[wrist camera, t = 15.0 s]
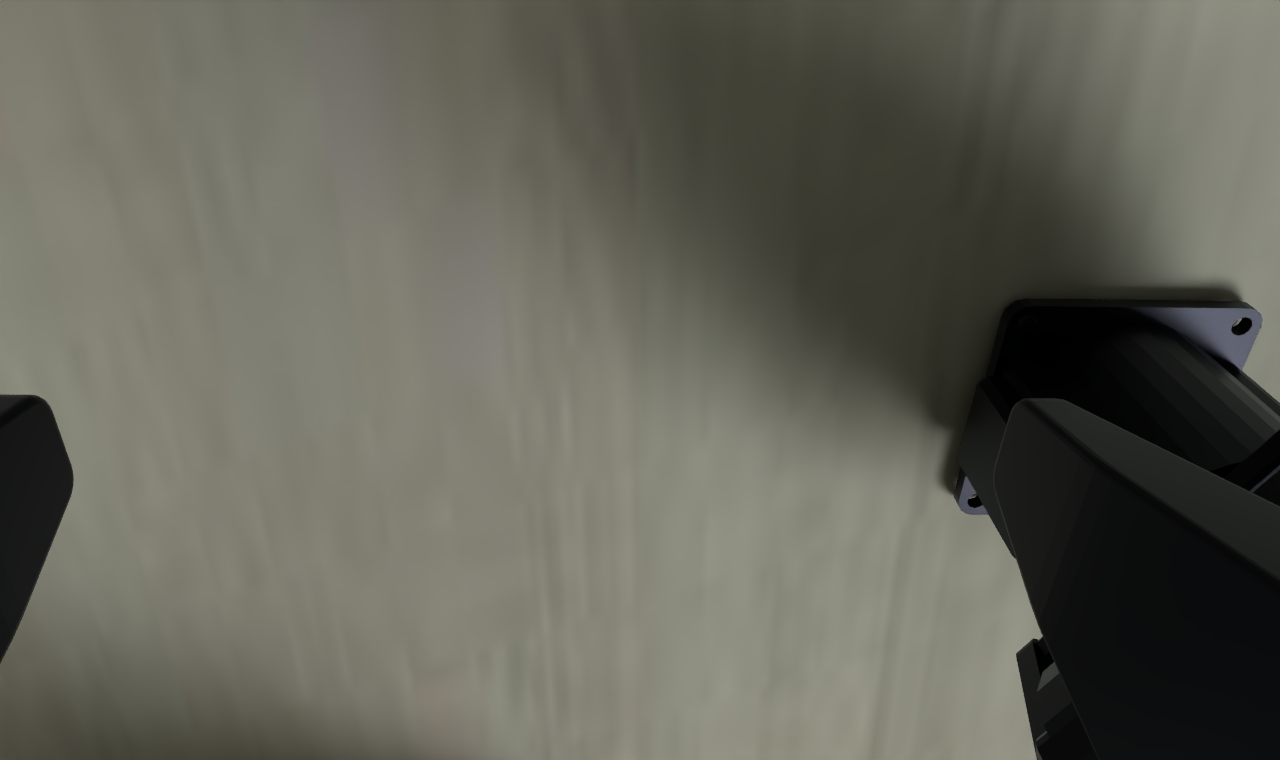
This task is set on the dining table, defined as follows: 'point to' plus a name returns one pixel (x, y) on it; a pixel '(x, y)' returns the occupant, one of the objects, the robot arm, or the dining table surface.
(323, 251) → the dining table surface
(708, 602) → the dining table surface
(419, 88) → the dining table surface
